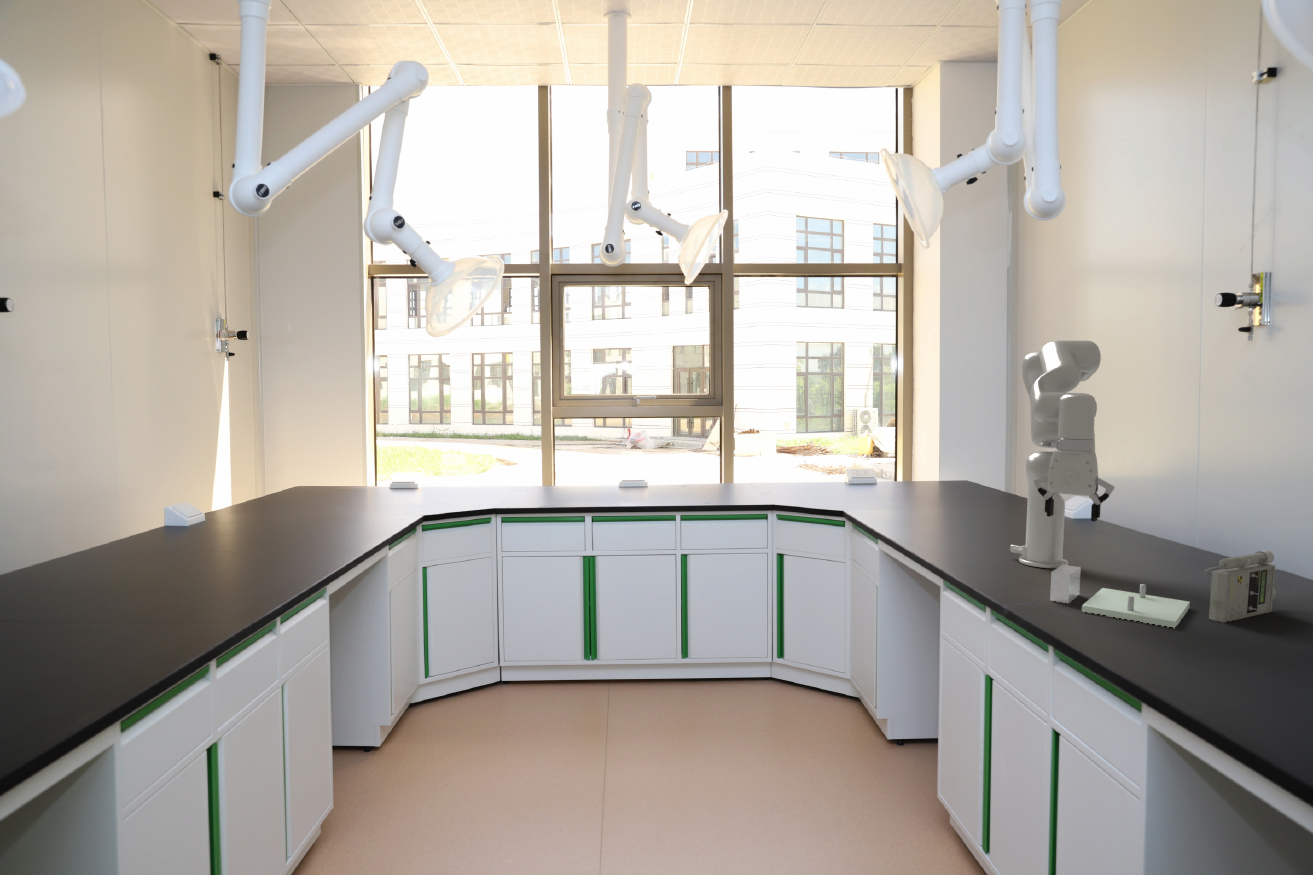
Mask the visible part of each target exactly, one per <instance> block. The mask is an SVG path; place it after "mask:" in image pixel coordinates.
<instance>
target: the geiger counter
mask: <svg viewBox="0 0 1313 875" xmlns="http://www.w3.org/2000/svg"><path fill="white" fill-rule="evenodd" d="M1274 560H1275V555H1274V553H1273V552H1272V551H1270V550H1267V549H1264V550H1263V549H1262V550H1258V551H1255V553H1249V554H1245V555H1244V554H1243V555H1238V556H1231V557H1227V558H1226V557H1225V558H1222V559H1220V560H1219V563H1218V564H1219V566H1214V567H1209V568H1207V569H1206V570H1205V571H1204V574H1205V575H1209V576H1211V584H1210V597H1209V612H1208V620H1210V619H1211V620H1210V621H1213V620H1214V622H1217V621H1219V622H1218V623H1223V624H1224V623H1228V622H1227V621H1229V622H1232V620H1233V621H1237V620H1241V619H1245V618H1250V617H1254V616H1258V615H1263V614H1267V613H1271V612H1273V600H1274V599H1276V598H1277V593H1278V591H1277V587H1276V584H1275V576H1276V575H1275V573H1276V572H1275V571H1276V564H1273V561H1274ZM1215 569H1217V570H1215ZM1209 571H1211V572H1209Z"/></svg>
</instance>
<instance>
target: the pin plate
mask: <svg viewBox="0 0 1313 875" xmlns="http://www.w3.org/2000/svg"><path fill="white" fill-rule="evenodd" d="M1146 592H1147V584H1144V583H1142V584H1141V583H1140V584H1139V593H1137V592H1132V591H1124V590H1119V589H1111V588H1105V587H1102V588H1100V590H1098V591H1097V592H1096V593H1095V594H1094V595H1092V597H1090V598H1089V599H1088V600H1087V601H1085V602H1084V603H1083V604H1082V605H1081V612H1082V613H1085V612H1087V614H1091V613H1094V614H1093V615H1097V614H1100V615H1099V616H1102V615H1106V616H1105V617H1109V618H1113V617H1115V618H1114V619H1119V618H1121V619H1120V620H1124V619H1127V620H1126V621H1130V620H1134V621H1133V622H1136V621H1140V622H1139V623H1141V622H1143V623H1142V624H1147V623H1149V625H1152V624H1155V625H1154V626H1158V625H1161V626H1160V627H1164V626H1167V627H1166V628H1169V627H1173V628H1172V629H1176V628H1177V627H1178V625H1179V624H1180V622H1181V621H1182V620H1183V618H1184V617H1185V615H1186V614H1187V612H1188V611H1189V610H1190V603H1191V601H1187V600H1181V599H1175V598H1169V597H1162V596H1156V595H1152V594H1151V595H1150V594H1146ZM1188 609H1189V610H1188ZM1181 619H1182V620H1181ZM1176 626H1177V627H1176ZM1175 627H1176V628H1175Z"/></svg>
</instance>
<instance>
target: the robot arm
mask: <svg viewBox="0 0 1313 875" xmlns="http://www.w3.org/2000/svg"><path fill="white" fill-rule="evenodd" d="M1101 360H1102V355H1101V350H1100V348H1099V346H1098V345H1097V343H1095V342H1094V341H1092V340H1054V341H1050V342H1048V343H1045V344H1044V345H1043V346H1042V347H1041V349H1040V351H1034V352H1030V353H1028V354H1026V355H1025V356H1024V357H1023V360H1022V364H1021V371H1022V372H1021V373H1022V375H1021V376H1022V381H1023V384H1024V387H1025V389H1026V392H1027V395H1028V398H1029V404H1030V435H1031V441H1032V444H1033V445H1034V446H1036V447H1037V448H1042V449H1043V448H1044V449H1056V450H1054V451H1053V450H1052V451H1037V452H1034V453H1030V455H1028V457H1027V459H1026V460H1025V472H1026V475H1025V476H1026V484H1027V503H1026V504H1027V505H1026V508H1027V509H1026V528H1025V530H1026V532H1025V544H1024V545H1023V544H1022V546H1021V545H1015V544H1010V546H1009V551H1010V552H1012V553H1014V554H1020V556H1019V557H1018V561H1019V563H1021V564H1023V565H1026V566H1031V567H1037V568H1042V569H1043V568H1044V569H1057V568H1058V567H1060V566H1061V565H1069V561H1068V560H1067V559H1065V558H1063V552H1064V532H1065V515H1066V514H1065V513H1066V504H1065V500H1064V498H1063V496H1062V495H1069V496H1071V495H1072V496H1085V497H1089V498H1090V499H1091V500H1092V502H1093V504H1091V510H1090V511H1091V513H1090V521H1091V522H1097V521H1098V519H1100V518H1101V505H1102V503H1104V502H1105V501H1107V499H1109V498H1110V497H1111V495H1112V493H1113V492H1114V490H1116V487H1115V485H1113V484H1111V483H1110V482H1108V481H1105V480H1103V479H1102V478H1100V477H1099V468H1098V467H1099V466H1098V465H1099V464H1098V459H1097V458H1098V457H1097V454H1096V439H1095V438H1096V437H1095V436H1096V435H1095V418H1096V415H1097V410H1098V407H1097V406H1098V404H1097V401H1096V399H1095V397H1094V396H1093V395H1091V394H1089V393H1086V392H1085V393H1083V392H1071V391H1073V390H1075V389H1076V388H1077V387H1078V385H1080V382H1085V381H1088V380H1089V379H1090V378H1091V377H1092V376H1093V375H1094V374H1095V373H1097V371H1098V369H1099V367H1100V365H1101ZM1099 486H1101V487H1102V488H1104V489H1105V491H1104V492H1103V494H1101V495H1099V494H1098V491H1099Z"/></svg>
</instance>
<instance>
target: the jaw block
mask: <svg viewBox="0 0 1313 875" xmlns="http://www.w3.org/2000/svg"><path fill="white" fill-rule="evenodd" d="M1081 568H1082V567H1081V566H1076V565H1075V566H1074V565H1069V564H1068V565H1061V566H1060V567H1058V568H1054V569H1053V570H1052V571H1051V574H1050V592H1049V596H1050V597H1049V601H1051V602H1054V601H1056V603H1060V602H1061V604H1065V603H1067V604H1066V605H1069V604H1070V603H1072V602H1073V601H1074V600H1075V599H1076V598H1078V597H1079V596H1080V589H1081V588H1080V585H1081ZM1078 595H1079V596H1078ZM1077 596H1078V597H1077ZM1074 598H1075V599H1074ZM1072 600H1073V601H1072ZM1068 603H1069V604H1068Z"/></svg>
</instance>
